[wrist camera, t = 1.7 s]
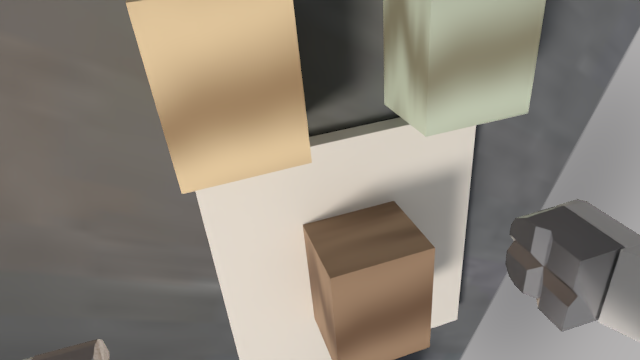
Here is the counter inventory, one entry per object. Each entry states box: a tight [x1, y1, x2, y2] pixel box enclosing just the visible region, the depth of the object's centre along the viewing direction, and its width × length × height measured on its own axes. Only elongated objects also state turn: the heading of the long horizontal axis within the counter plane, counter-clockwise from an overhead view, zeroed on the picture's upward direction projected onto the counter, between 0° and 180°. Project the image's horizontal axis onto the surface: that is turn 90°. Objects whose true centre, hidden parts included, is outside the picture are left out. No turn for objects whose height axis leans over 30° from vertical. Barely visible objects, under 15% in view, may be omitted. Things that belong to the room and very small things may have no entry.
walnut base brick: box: [303, 201, 435, 360], centre depth 28 cm, size 8×6×5 cm
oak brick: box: [126, 0, 312, 194], centre depth 21 cm, size 8×6×5 cm
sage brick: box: [383, 0, 546, 137], centre depth 24 cm, size 8×6×5 cm
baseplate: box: [195, 117, 476, 360], centre depth 31 cm, size 18×17×1 cm
